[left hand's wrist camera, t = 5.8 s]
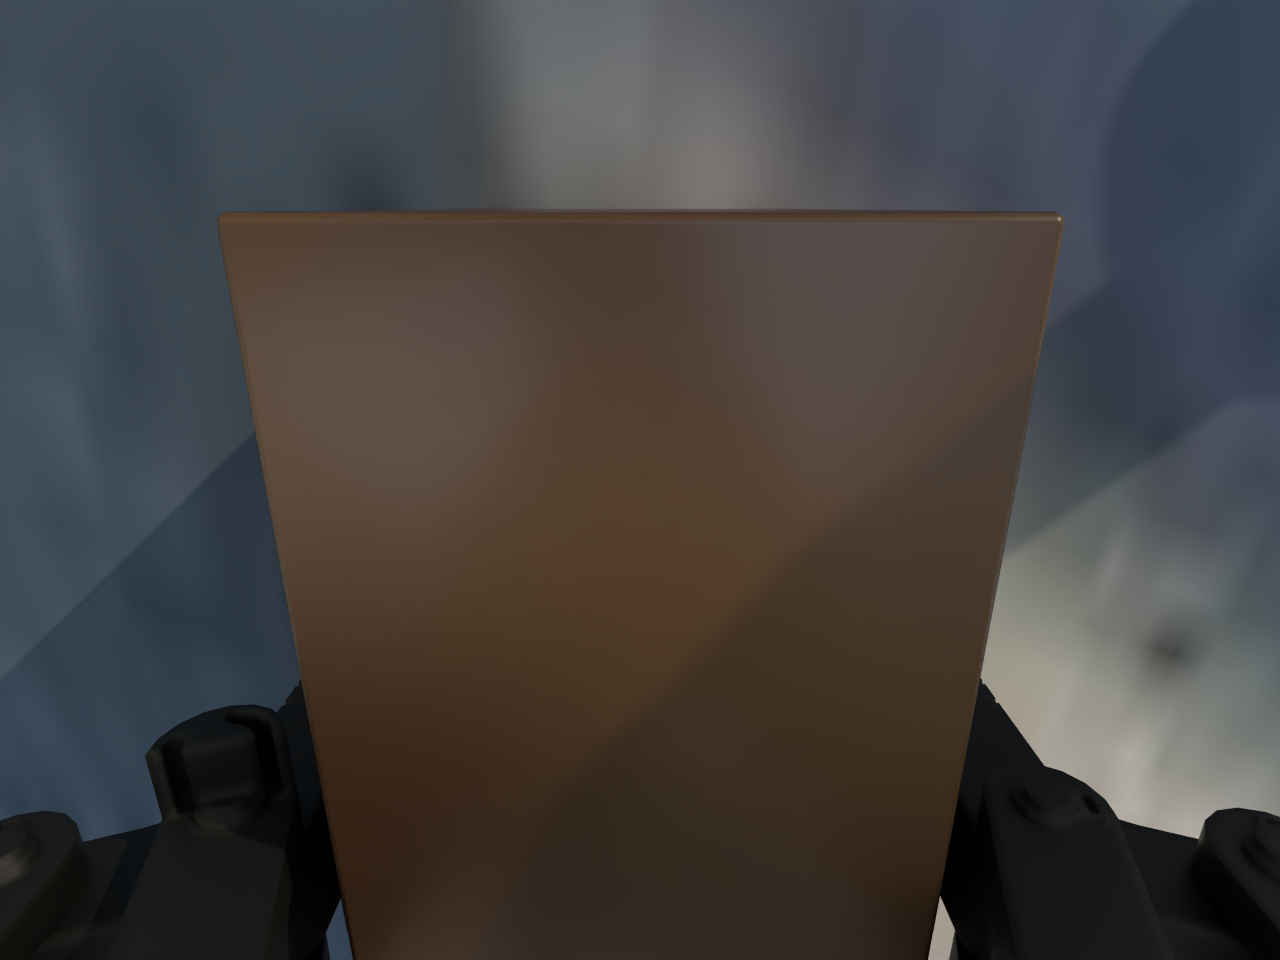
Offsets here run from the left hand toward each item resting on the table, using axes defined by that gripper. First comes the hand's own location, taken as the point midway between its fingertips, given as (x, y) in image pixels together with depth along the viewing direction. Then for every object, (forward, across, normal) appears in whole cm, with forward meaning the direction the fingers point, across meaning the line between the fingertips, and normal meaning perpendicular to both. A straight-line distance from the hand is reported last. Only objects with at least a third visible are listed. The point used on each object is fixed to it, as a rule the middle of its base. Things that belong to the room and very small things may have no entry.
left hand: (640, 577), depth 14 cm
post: (+1, 0, -23) cm, 23 cm away
